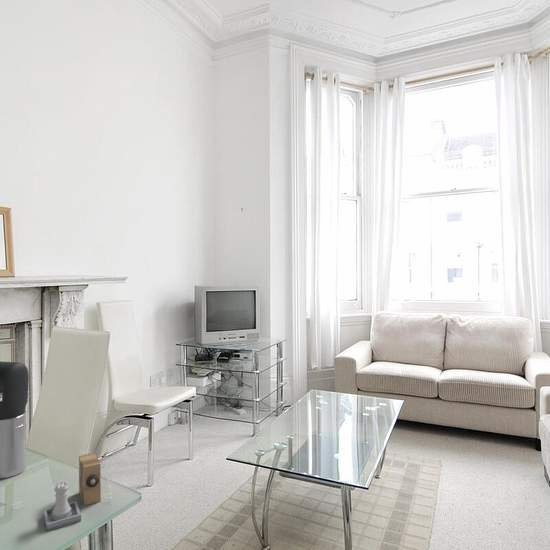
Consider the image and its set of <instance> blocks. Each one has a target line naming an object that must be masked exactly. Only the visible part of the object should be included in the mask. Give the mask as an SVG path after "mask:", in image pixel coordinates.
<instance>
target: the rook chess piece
mask: <svg viewBox="0 0 550 550" xmlns="http://www.w3.org/2000/svg"><path fill="white" fill-rule="evenodd" d="M69 488H70V486H69V485H68V482H66V481H61V482H58V483H57V484H56V485H55V486H54V489H53V490H54V492H55V495H54V497H55V505H54V510H53V511H52V519H53V520H54V521H57V520H60V519H64V518H67V517H70V515H71V514H72V512H71V507H70V506H69V503H70V502H69V501H68V494H69V492H68V490H69Z"/></svg>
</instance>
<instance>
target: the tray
mask: <svg viewBox="0 0 550 550" xmlns="http://www.w3.org/2000/svg"><path fill="white" fill-rule="evenodd" d="M68 503H69V506H70V507H71V512H72V514H71V515H70V517H67V518H64V519H60V520H57V521H54V520H53V519H52V511H53V510H54V507H55V506H54V507H49V508H46V509H43V520H44V525H45V530H46V532H48V531H52V530H56V529H58V528H62V527H65V526H68V525H71V524H76V523H79V522H81V521H82V513H81V511H80V508H79V506H78V502H77V500H74V501H72V502H68Z"/></svg>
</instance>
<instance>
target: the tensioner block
mask: <svg viewBox="0 0 550 550" xmlns="http://www.w3.org/2000/svg"><path fill="white" fill-rule="evenodd" d="M101 486H102V485H101V463H100V461H99V458H98V456H97V455H96V453H95V452H92V453H86V454H82V455H78V493H79V496H80V498H81V501H82V504H83V506H84V507H85V506H89V505H92V504H95V503H96V504H97V503H100V502H101V499H102V498H101V492H102V491H101Z"/></svg>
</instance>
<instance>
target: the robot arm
mask: <svg viewBox="0 0 550 550" xmlns="http://www.w3.org/2000/svg"><path fill="white" fill-rule="evenodd" d="M29 379H30V376H29V370H28V367H27V366H26V365H25V364H24V363H23V362H19V361H18V362H17V361H15V362H14V361H0V394H1V395H2V398H1V400H0V479H7V478H11V477H14V476H17V475H19V474H21V473H23V472H24V471H25V470H26V467H27V466H26V465H27V462H26V460H27V459H26V458H27V457H26V455H27V454H26V452H27V451H26V449H27V448H26V407H27V404H28V400H29V385H30V384H29V382H30V381H29Z"/></svg>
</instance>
